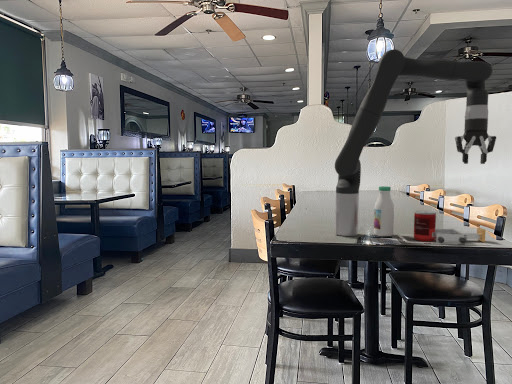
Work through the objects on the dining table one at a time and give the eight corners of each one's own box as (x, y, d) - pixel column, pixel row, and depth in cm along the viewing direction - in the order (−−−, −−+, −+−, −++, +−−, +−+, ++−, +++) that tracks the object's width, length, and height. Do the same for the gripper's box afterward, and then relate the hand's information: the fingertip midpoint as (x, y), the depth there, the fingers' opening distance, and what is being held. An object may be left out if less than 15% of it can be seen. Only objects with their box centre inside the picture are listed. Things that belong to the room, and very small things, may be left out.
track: (406, 242, 145) (406, 242, 145) (397, 235, 160) (397, 234, 160) (489, 245, 141) (489, 244, 141) (472, 237, 156) (472, 236, 156)
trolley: (437, 242, 143) (437, 230, 143) (425, 235, 158) (425, 224, 158) (491, 244, 141) (491, 232, 140) (474, 236, 156) (474, 225, 155)
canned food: (430, 237, 155) (431, 210, 154) (438, 241, 147) (439, 213, 146) (410, 237, 156) (411, 210, 155) (417, 241, 148) (418, 212, 147)
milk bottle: (393, 233, 163) (394, 186, 161) (393, 237, 156) (394, 187, 154) (374, 232, 165) (375, 185, 164) (373, 236, 158) (374, 187, 157)
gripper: (459, 117, 142) (457, 163, 144) (501, 116, 140) (499, 163, 142) (452, 119, 150) (450, 163, 151) (492, 119, 148) (490, 163, 149)
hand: (474, 163), depth 147 cm, fingers open, 5 cm apart
